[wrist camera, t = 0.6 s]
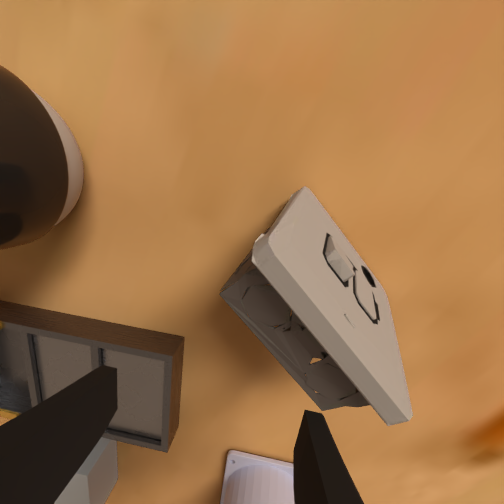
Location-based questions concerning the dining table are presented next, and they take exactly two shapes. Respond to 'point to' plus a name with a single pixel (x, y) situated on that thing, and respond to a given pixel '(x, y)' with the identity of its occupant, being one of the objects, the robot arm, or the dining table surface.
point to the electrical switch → (321, 312)
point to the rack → (86, 360)
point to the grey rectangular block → (93, 476)
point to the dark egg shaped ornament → (34, 164)
